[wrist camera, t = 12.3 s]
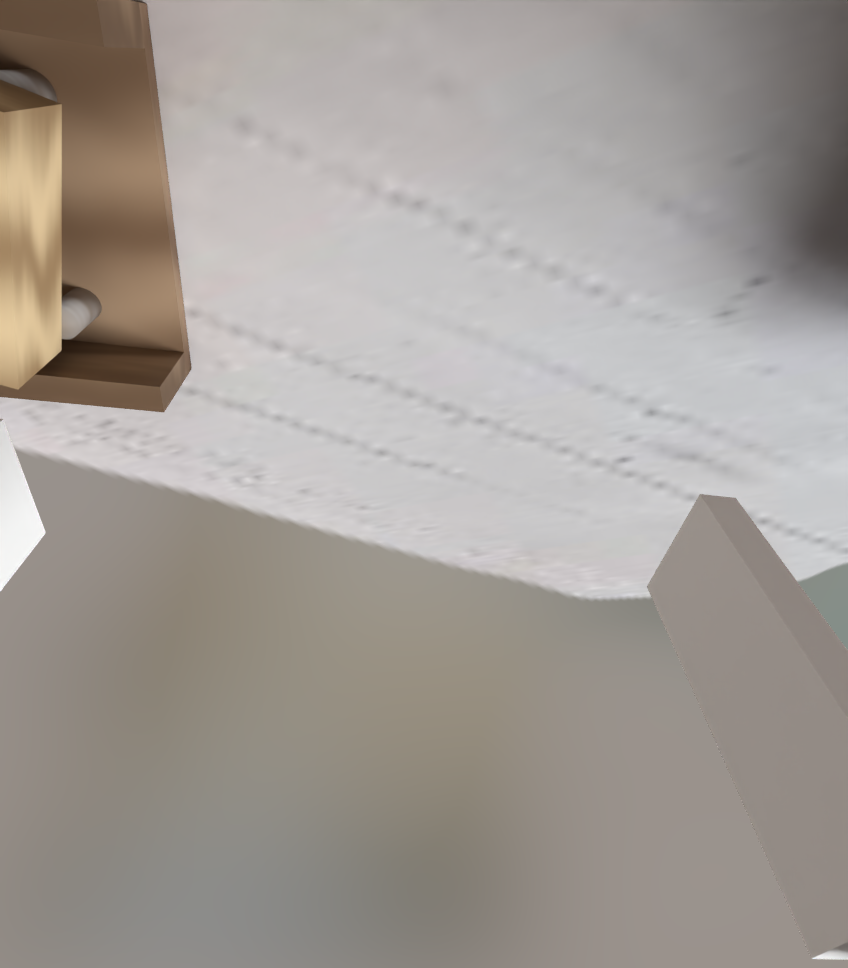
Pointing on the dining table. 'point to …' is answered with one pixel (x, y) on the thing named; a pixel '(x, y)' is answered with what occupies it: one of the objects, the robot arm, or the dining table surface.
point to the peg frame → (105, 203)
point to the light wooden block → (29, 233)
